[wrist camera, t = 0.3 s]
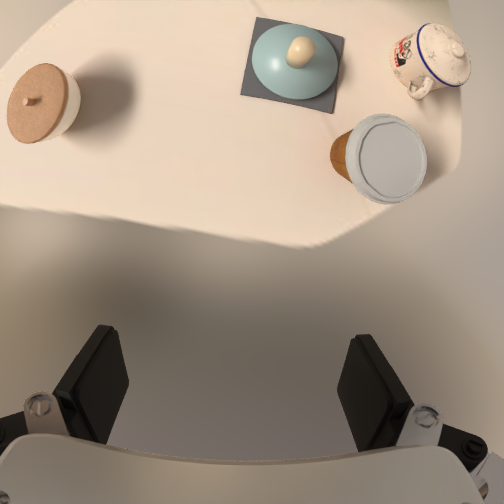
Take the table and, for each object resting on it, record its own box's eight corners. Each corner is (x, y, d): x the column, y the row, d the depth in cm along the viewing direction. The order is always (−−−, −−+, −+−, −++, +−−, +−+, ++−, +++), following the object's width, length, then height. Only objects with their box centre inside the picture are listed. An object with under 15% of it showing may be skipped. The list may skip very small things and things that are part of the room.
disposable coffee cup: (388, 135, 36) (438, 133, 25) (372, 198, 39) (417, 217, 28) (327, 112, 35) (362, 98, 24) (310, 179, 38) (339, 191, 27)
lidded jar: (44, 153, 35) (5, 158, 26) (32, 94, 31) (-5, 88, 23) (99, 123, 34) (64, 119, 25) (85, 61, 31) (52, 45, 22)
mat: (256, 18, 30) (256, 17, 30) (342, 38, 32) (343, 37, 31) (240, 94, 34) (240, 94, 34) (330, 113, 35) (331, 113, 35)
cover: (259, 20, 30) (262, 0, 24) (339, 38, 31) (354, 23, 25) (245, 91, 34) (245, 79, 28) (328, 108, 35) (344, 101, 29)
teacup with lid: (398, 29, 31) (439, 3, 20) (442, 64, 32) (488, 50, 21) (372, 84, 34) (415, 66, 23) (420, 120, 35) (470, 116, 24)
